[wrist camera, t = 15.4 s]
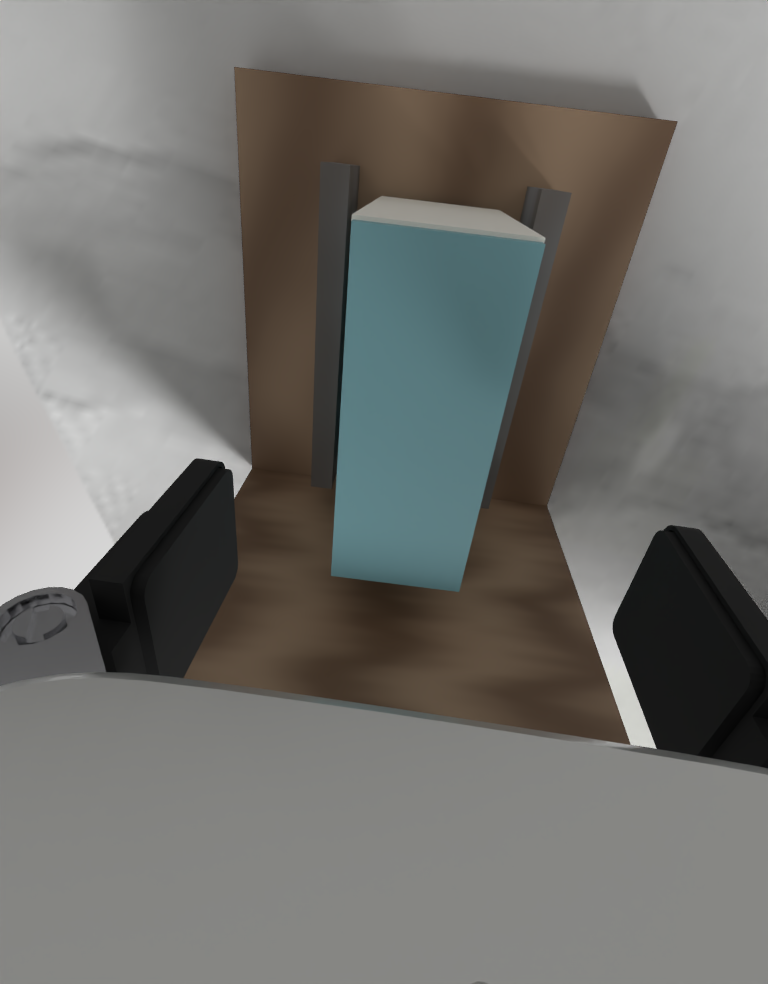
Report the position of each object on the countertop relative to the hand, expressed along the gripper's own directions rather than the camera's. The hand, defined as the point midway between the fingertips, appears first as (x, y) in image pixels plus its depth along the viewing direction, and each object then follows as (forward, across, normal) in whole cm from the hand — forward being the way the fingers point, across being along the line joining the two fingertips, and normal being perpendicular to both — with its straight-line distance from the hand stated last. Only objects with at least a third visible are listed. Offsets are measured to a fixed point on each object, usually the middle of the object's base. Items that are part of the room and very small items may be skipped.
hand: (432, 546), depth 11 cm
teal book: (+14, +1, -1) cm, 14 cm away
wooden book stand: (+16, +1, -1) cm, 16 cm away
